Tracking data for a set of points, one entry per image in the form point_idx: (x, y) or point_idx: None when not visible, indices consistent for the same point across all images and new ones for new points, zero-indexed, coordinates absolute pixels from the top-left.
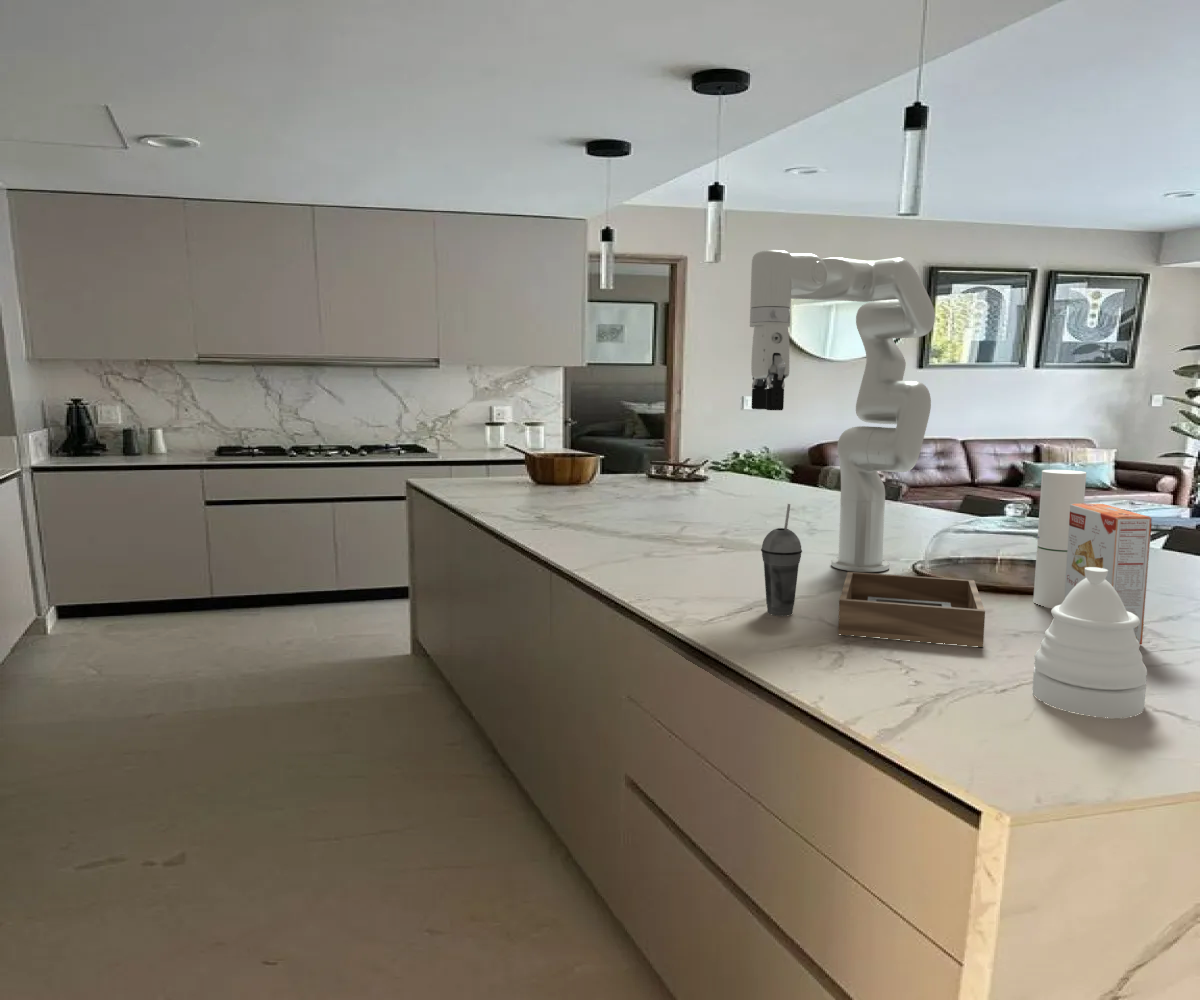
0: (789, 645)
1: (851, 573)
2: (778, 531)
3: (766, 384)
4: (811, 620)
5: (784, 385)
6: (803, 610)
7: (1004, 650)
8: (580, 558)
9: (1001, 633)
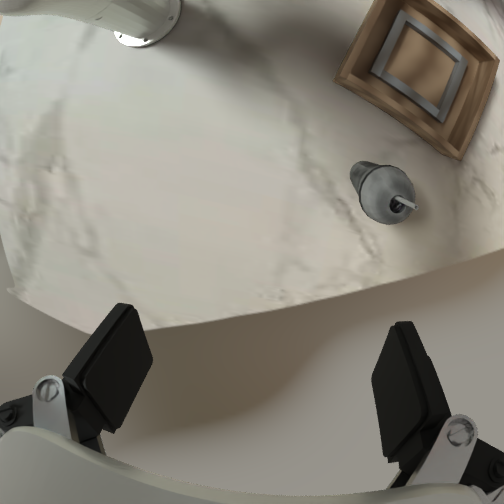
0: (452, 210)
1: (350, 75)
2: (404, 213)
3: (69, 412)
4: (396, 154)
5: (475, 427)
6: (358, 144)
7: None
8: None
9: None
